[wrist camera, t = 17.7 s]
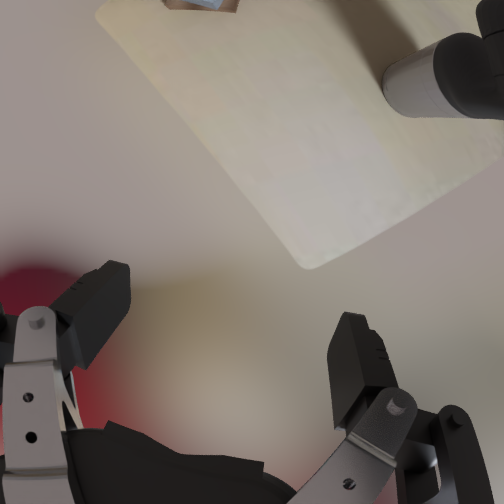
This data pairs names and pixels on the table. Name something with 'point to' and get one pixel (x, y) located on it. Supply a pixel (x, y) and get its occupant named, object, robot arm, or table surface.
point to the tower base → (227, 5)
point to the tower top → (207, 3)
